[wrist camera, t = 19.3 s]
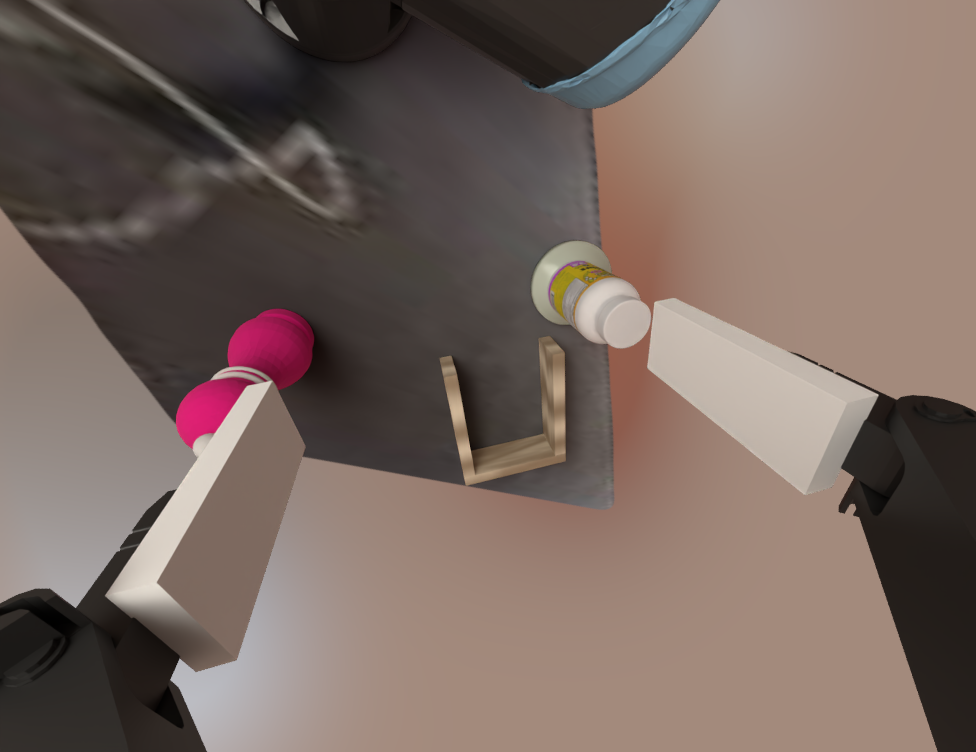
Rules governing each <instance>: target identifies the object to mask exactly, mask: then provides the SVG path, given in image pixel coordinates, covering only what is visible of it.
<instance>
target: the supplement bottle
mask: <svg viewBox="0 0 976 752" xmlns="http://www.w3.org/2000/svg"><path fill="white" fill-rule="evenodd" d="M547 296H548V300H549V303H550V305H551V306H552V308H553V309H554V310H555V311H556V312H557V313H558V314H559V315H560V316H562V317H563V318H564V319H565V320H566V321H567V322H568V323H569V324H571V325H572V326H573V327H574V328H575V329H576V330H577V331H578V332H579V333H580V334H581V335H583V336H584V337H585V338H586V339H588V340H589V341H591V342H594V343H598V344H609V345H610V346H612V347H615V348H628V347H630V346H633V345H635V344H636V343H638V342H639V341H640V340H641V339H642V338H643V337H644V336H645V334H646V333H647V331H648V329H649V326H650V323H651V313H650V310H649V308H648V306H647V305H646V304H645V303H643V302H642V301H641V300H640V296H639V294H638V292H637V290H636V289H635V288H634V286H633V285H632V284H630V283H629V282H627V281H625V280H623V279H621V278H619V277H617V276H615V275H613V274H611V273H609V272H607V271H605V270H604V269H601V268H599V267H597V266H595V265H593V264H591V263H589V262H586V261H582V260H574V261H570V262H567V263H565V264H563V265H562V266H560V267H559V268H558V269H557V270H556V271H555V272H554V273H553V275H552V276H551V278H550V281H549V283H548V288H547Z"/></svg>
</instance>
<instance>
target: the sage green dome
mask: <svg viewBox="0 0 976 752" xmlns="http://www.w3.org/2000/svg"><path fill="white" fill-rule="evenodd" d="M574 260H582V261H586V262H589V263H591V264H593V265H595V266H597V267H599V268H601V269H604V270H605V271H607V272H609V273H611V274H612V271H611V266H610V262H609V260H608V258H607V256H606V255H605V254H604V252H603V251H602V250H601V249H600V248H598V247H597V246H595V245H593V244H591V243H588V242H585V241H581V240H570V241H566V242H563V243H560V244H558V245H556V246H554V247H553V248H551V249H550V250H549V251H548V252H546V253H545V254H544V256H543V257H542V258H541V259H540V261H539V262H538V263H537V265H536V267H535V269H534V272H533V275H532V278H531V285H530V291H531V297H532V301H533V303H534V305H535V307H536V309H537V310H538V311H539V312H540V313H541V314H542V315H543V316H544V317H545V318H546V319H548V320H549V321H551V322H553V323H556V324H561V325H570V324H569V323H568V322H567V321H566V320H565V319H564V318H563V317H562V316H560V315H559V314H558V313H557V312H556V311H555V310H554V309H553V308H552V306H551V305H550V303H549V300H548V296H547V288H548V283H549V281H550V278H551V276H552V275H553V273H554V272H555V271H556V270H557V269H558V268H559V267H560V266H562V265H563V264H565V263H567V262H570V261H574Z"/></svg>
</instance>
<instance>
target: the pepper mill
mask: <svg viewBox="0 0 976 752" xmlns="http://www.w3.org/2000/svg"><path fill="white" fill-rule="evenodd" d="M313 344H314V334H313V331H312V328H311V327H310V325H309V324H308V322H307V321H306V320H305V319H304V318H302V317H301V316H300V315H298V314H296V313H294V312H292V311H289V310H284V309H271V310H267V311H264V312H262V313H261V314H259V315H258V316H257V317H256V318H254V319H251V320H249V321H247V322H245V323H244V324H242V325H241V326H240V327H239V328H238V329H237V330H236V332H235V333H234V335H233V337H232V338H231V340H230V343H229V348H228V362H229V368H226V369H223V370H221V371H220V372H218V373H217V374H216V375H214V377H213V378H212V379H211V380H210V381H208V382H205V383H203V384H201V385H198V386H197V387H196V388H194V389H193V390H192V391H191V392H189V393H188V394H187V396H186V397H185V398H184V399H183V401H182V402H181V404H180V406H179V409H178V412H177V415H176V426H177V430H178V433H179V435H180V437H181V438H182V439H183V441H184V442H185V443H186V444H187V445H188V446H189V447H190V448H192V449H193V452H194V454H195V455H196V456H197V457H198V458H199V456H200V455H201V453H202V452H203V450H204V449H205V447H206V446H207V444H208V443H209V441H210V440H211V439H212V437H213V436H214V434H215V433H216V431H217V430H218V428H219V427H220V425H221V424H222V422H223V421H224V419H225V418H226V416H227V415H228V413H229V412H230V410H231V409H232V408H233V406H234V405H235V403H236V402H237V400H238V399H239V397H240V396H241V394H242V393H243V391H244V390H245V388H246V387H247V386H249V385H254V384H259V383H264V382H269V381H273V382H274V384H275V386H276V388H277V390H280V389H283V388H286V387H288V386H290V385H292V384H293V383H295V382H296V381H298V380H299V379H300V378H301V377H302V376H303V375H304V374H305V372H306V371H307V370H308V368H309V366H310V364H311V360H312V347H313Z"/></svg>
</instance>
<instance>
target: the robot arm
mask: <svg viewBox="0 0 976 752" xmlns="http://www.w3.org/2000/svg"><path fill="white" fill-rule="evenodd" d="M244 1H245V2H246V3H247V5H248V6H249V7H250V8H251V9H252V10H253V11H254V12H255V14H256V15H257V16H258V17H259V18H260V19H261V20H262V21H263V22H264V23H265V24H266V25H267V26H268V27H269V28H270V29H271V30H272V31H274V32H275V33H276V34H277V35H278V36H280V37H281V38H282V39H284V40H285V41H286V42H288V43H290V44H291V45H293V46H294V47H296V48H298V49H299V50H301V51H303V52H306V53H308V54H310V55H313V56H315V57H318V58H322V59H326V60H330V61H338V62H351V61H358V60H362V59H366V58H369V57H371V56H373V55H376V54H378V53H379V52H381V51H383V50H384V49H385V48H387V47H388V46H389V45H390V44H391V43H393V42H394V41H395V39H396V38H397V37H398V36H399V35H400V34H401V32H402V31H403V30H404V28H405V27H406V25H407V23H408V22H409V20H410V18H411V16H412V15H413V16H415V17H416V18H418V19H420V20H421V21H423V22H425V23H427V24H428V25H430V26H432V27H433V28H435V29H437V30H439V31H440V32H442V33H444V34H446V35H447V36H449V37H451V38H452V39H454V40H456V41H458V42H459V43H461V44H463V45H464V46H466V47H468V48H470V49H471V50H473V51H475V52H477V53H478V54H480V55H482V56H483V57H485V58H487V59H489V60H490V61H492V62H494V63H495V64H497V65H499V66H501V67H502V68H504V69H506V70H507V71H509V72H511V73H513V74H514V75H516V76H518V77H520V78H521V80H522V83H523V84H524V85H525V86H527V87H528V88H530V89H531V90H533V91H535V92H542V93H548V94H550V95H552V96H554V97H556V98H558V99H560V100H562V101H564V102H566V103H567V104H569V105H572V106H574V107H576V108H581V109H587V108H594V109H596V108H601V107H606V106H608V105H610V104H613V103H615V102H617V101H619V100H621V99H623V98H625V97H626V96H628V95H629V94H631V93H633V92H634V91H635V90H637V89H638V88H640V87H641V86H642V85H644V84H645V83H646V82H647V81H648V80H650V79H651V78H652V77H653V76H654V75H655V74H656V73H658V72H659V71H660V70H661V69H662V68H663V67H664V66H665V65H666V64H667V63H668V62H669V61H670V60H671V59H672V58H673V57H674V56H675V55H676V54H677V53H678V52H679V51H680V50H681V49H682V47H683V46H684V45H685V44H686V43H687V42H688V41H689V40H690V39H691V37H692V36H693V35H694V34H695V32H697V30H698V29H699V28H700V27H701V25H702V24H703V23H704V22H705V20H706V19H707V18H708V16H709V15H710V13H711V12H712V11H713V9H714V8H715V7H716V5H717V4H718V2H719V1H720V0H244ZM647 368H648V369H649V370H650V371H651V372H653V373H654V374H655V375H656V376H657V377H659V378H660V379H661V380H663V381H664V382H665V383H666V384H667V385H669V386H670V387H671V388H672V389H674V390H675V391H676V392H677V393H679V394H680V395H681V396H682V397H684V398H685V399H686V400H687V401H689V402H690V403H691V404H692V405H693V406H695V407H696V408H697V409H699V410H700V411H701V412H702V413H703V414H705V415H706V416H707V417H708V418H710V419H711V420H712V421H713V422H715V423H716V424H717V425H718V426H720V427H721V428H722V429H723V430H725V431H726V432H727V433H728V434H729V435H731V436H732V437H733V438H735V439H736V440H737V441H738V442H739V443H741V444H742V445H743V446H744V447H746V448H747V449H748V450H749V451H751V452H752V453H753V454H755V455H756V456H757V457H758V458H759V459H761V460H762V461H763V462H764V463H766V464H767V465H768V466H769V467H770V468H772V469H773V470H774V471H775V472H777V473H778V474H779V475H781V476H782V477H783V478H784V479H785V480H787V481H788V482H789V483H790V484H792V485H793V486H794V487H795V488H797V489H798V490H799V491H800V492H802V493H803V494H804V495H807V494H811V493H814V492H818V491H821V490H825V489H828V488H831V487H832V486H833V484H834V482H835V480H836V478H837V476H838V474H839V472H840V470H841V469H843V470H845V471H846V472H848V473H849V474H851V475H852V476H854V479H853V481H852V483H851V484H850V486H849V488H848V490H847V492H846V493H845V495H844V497H843V499H842V501H841V503H840V505H839V512H840V513H845V512H846V510H847V508H848V507H849V505H850V504H855V506H856V511H855V512H854V514H853V515H854V516H857V517H859V518H860V521H861V524H862V527H863V530H864V533H865V536H866V539H867V542H868V545H869V548H870V551H871V554H872V557H873V560H874V563H875V565H876V569H877V571H878V575H879V578H880V581H881V584H882V587H883V589H884V593H885V596H886V598H887V601H888V605H889V607H890V610H891V613H892V616H893V619H894V622H895V625H896V628H897V631H898V634H899V637H900V640H901V643H902V646H903V649H904V652H905V655H906V658H907V661H908V664H909V667H910V670H911V673H912V676H913V679H914V682H915V685H916V688H917V691H918V694H919V697H920V700H921V703H922V706H923V709H924V712H925V715H926V717H927V721H928V724H929V727H930V730H931V732H932V736H933V739H934V742H935V745H936V748H937V751H938V752H976V411H974V410H972V409H970V408H967V407H965V406H963V405H960V404H958V403H954V402H951V401H948V400H945V399H940V398H934V397H929V396H916V395H911V396H905V397H900V398H899V399H898V400H896V399H894V398H891V397H889V396H887V395H885V394H883V393H881V392H879V391H876V390H874V389H872V388H870V387H868V386H866V385H864V384H862V383H859V382H857V381H855V380H853V379H851V378H849V377H847V376H844V375H842V374H840V373H838V372H836V373H834V372H833V370H832V369H829V368H827V367H825V366H823V365H818V363H817V362H814V361H812V360H810V359H808V358H806V357H804V356H802V355H799V354H796V353H792V352H789V351H786V350H783V349H781V348H779V347H777V346H775V345H773V344H771V343H769V342H767V341H764V340H762V339H760V338H758V337H756V336H754V335H752V334H750V333H748V332H745V331H743V330H741V329H739V328H737V327H735V326H733V325H731V324H729V323H726V322H724V321H722V320H720V319H718V318H716V317H714V316H712V315H709V314H707V313H705V312H703V311H701V310H699V309H697V308H695V307H692V306H691V305H688V304H686V303H684V302H682V301H680V300H678V299H676V298H671V299H666V300H661V301H657V302H655V304H654V313H653V321H652V330H651V340H650V348H649V357H648V366H647ZM305 447H306V446H305V444H304V442H303V440H302V438H301V436H300V434H299V432H298V430H297V428H296V426H295V424H294V422H293V420H292V418H291V416H290V414H289V412H288V410H287V408H286V406H285V404H284V402H283V400H282V398H281V396H280V394H279V392H278V390H277V388H276V386H275V384H274V382H273V381H269V382H264V383H259V384H254V385H249V386H247V387H246V388H245V390H244V391H243V393H242V394H241V396H240V397H239V399H238V400H237V402H236V403H235V405H234V406H233V408H232V409H231V410H230V412H229V413H228V415H227V416H226V418H225V419H224V421H223V422H222V424H221V425H220V427H219V428H218V430H217V431H216V433H215V434H214V436H213V437H212V439H211V440H210V441H209V443H208V444H207V446H206V447H205V449H204V450H203V452H202V453H201V455H200V456H199V458H198V459H197V461H196V462H195V464H194V465H193V467H192V468H191V470H190V471H189V473H188V474H187V475H186V477H185V478H184V480H183V481H182V483H181V485H180V486H179V487H178V489H176V490H173V491H168V492H167V493H166V494H165V495H164V496H162V497H161V498H160V499H159V500H158V501H157V502H156V503H155V504H153V505H152V506H151V507H150V508H149V509H148V510H147V511H146V512H145V514H144V515H143V516H142V518H141V519H140V520H139V522H138V523H137V525H136V526H135V527H134V529H133V533H132V534H130V535H129V536H128V537H127V538H126V540H125V541H124V543H123V544H122V545H121V547H120V549H121V550H120V551H118V552H116V554H115V555H114V556H113V558H112V559H111V561H110V562H109V563H108V565H107V566H106V567H105V569H104V571H103V572H102V573H101V574H100V576H99V577H98V578H97V580H96V581H95V583H94V584H93V585H92V587H91V588H90V590H89V591H88V592H87V594H86V595H85V597H84V598H83V599H82V601H81V602H80V603H79V605H78V606H77V607H76V608H75V607H73V606H72V605H71V604H69V603H68V602H66V601H65V600H64V599H63V598H61V597H60V596H59V595H57V594H56V593H55V592H53V591H52V590H51V589H34V590H31V591H28V592H24V593H21V594H18V595H16V596H14V597H12V598H10V599H8V600H6V601H4V602H2V603H0V752H207V751H206V749H205V746H204V745H203V742H202V740H201V737H200V735H199V733H198V731H197V728H196V726H195V724H194V721H193V719H192V717H191V714H190V712H189V710H188V708H187V705H186V703H185V701H184V698H183V696H182V694H181V692H180V689H179V688H178V687H177V686H176V685H175V684H174V683H173V682H172V681H171V680H170V679H171V677H172V674H173V672H174V670H175V668H176V665H177V663H178V661H179V659H181V660H182V661H184V662H185V663H186V664H187V665H188V666H190V667H191V668H192V669H193V670H194V671H195V672H198V671H201V670H204V669H208V668H211V667H215V666H218V665H221V664H225V663H228V662H232V661H235V660H237V658H238V654H239V651H240V648H241V645H242V642H243V639H244V636H245V633H246V630H247V627H248V623H249V620H250V617H251V614H252V611H253V608H254V605H255V602H256V599H257V595H258V593H259V589H260V586H261V583H262V580H263V577H264V574H265V571H266V568H267V565H268V562H269V558H270V555H271V552H272V549H273V546H274V543H275V539H276V537H277V534H278V531H279V527H280V524H281V521H282V518H283V515H284V512H285V509H286V506H287V503H288V499H289V496H290V493H291V490H292V487H293V484H294V481H295V478H296V475H297V471H298V469H299V465H300V462H301V459H302V456H303V453H304V450H305Z"/></svg>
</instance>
